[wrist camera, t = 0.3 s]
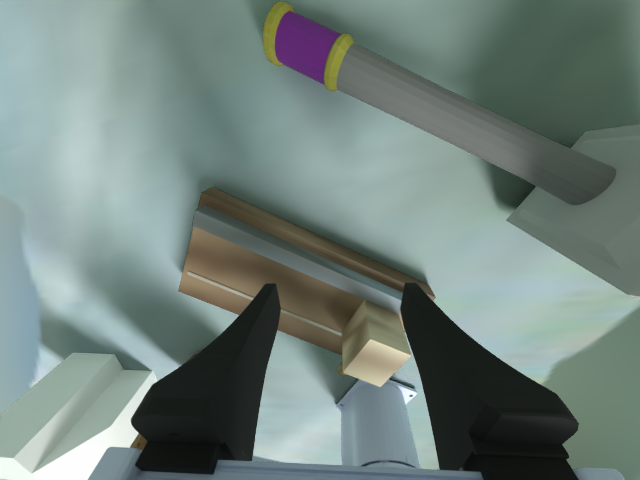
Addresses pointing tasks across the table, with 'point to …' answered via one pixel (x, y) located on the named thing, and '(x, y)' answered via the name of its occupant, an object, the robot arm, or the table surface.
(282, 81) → the table surface
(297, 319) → the board
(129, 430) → the corner bracket
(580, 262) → the hammer
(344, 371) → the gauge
